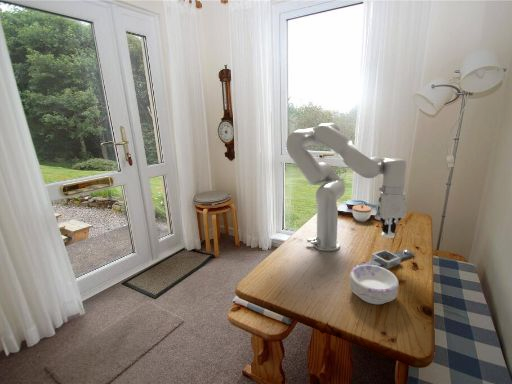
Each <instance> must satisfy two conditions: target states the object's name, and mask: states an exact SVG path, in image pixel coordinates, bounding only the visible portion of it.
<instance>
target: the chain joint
mask: <svg viewBox="0 0 512 384" xmlns="http://www.w3.org/2000/svg"><path fill="white" fill-rule="evenodd" d="M415 254H416V253H415V252H412V251H411V250H410V249H408V248H405V249H401V250H399V251H396V252H391V251H389V250H387V249H383V250H379V251H376V252H374V253H371V255H370V256H371V259H370V260H369V261H366V262H365V261H364V262H363V263H359V264H357V265H355V266H354V268H355V267H356V266H360V265H375V266H379V267H382V268H385V269H387V270H389V269H390V268H393V267H396V266H399V265H401V262H402V261H404V260H407V259H408V258H412V257H414V256H415ZM384 258H386V259H388V260H386V259H384Z"/></svg>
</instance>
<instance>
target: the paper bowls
mask: <svg viewBox="0 0 512 384" xmlns="http://www.w3.org/2000/svg"><path fill="white" fill-rule="evenodd" d="M355 266H356V265H355ZM355 266H354V267H353V268H352V269H351V270H350V275H349V286H350V289H351V291H352V292H353V293H354V295H356V296H357V297H359V299H361V300H362V301H364V302H366V303H368V304H372V305H383V304H385V303H390V302H391V301H394V300H395V299H396V298H397V296H398V291H399V283H400V282H399V278H397V276H396V275H395V274H394V273H393V272H392V271H391V270H389V269H386V268H384V267H379V266H375V265H360V266H356V267H355Z"/></svg>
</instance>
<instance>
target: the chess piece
mask: <svg viewBox="0 0 512 384" xmlns="http://www.w3.org/2000/svg"><path fill="white" fill-rule="evenodd" d="M392 219H393V218H390V219H388V225H389V228H388V234H386V233H384V232H383V231H382V232H381V236H382V237H384V238H387V239H394V238H395V233H392V232H391V227H390V226H391V224H392V222H391V221H392Z"/></svg>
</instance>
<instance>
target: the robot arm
mask: <svg viewBox="0 0 512 384" xmlns="http://www.w3.org/2000/svg"><path fill="white" fill-rule="evenodd" d="M320 144H321V145H322V146H324V147H326V148H327V149H328V150H329V151H331V152H332V153H334V154H336V155H337V156H338V157H339V158H340V159H341V161H342V162H343V163H344V164H345V165H346V166H347V168H349V169H350V170H352V171H353V172H354V173H356V174H358V175H359V176H361V177H363V178H366V179H374V178H376V177H377V176H379V175H383V176H382V185H381V187H379V188H378V189H379V191H380V193H379V196H378V199H377V204H376V213H375V215H374V219H376V220H378V221H380V222H381V223H382V225H381V231H382V232H384V233H386V234H388V228H389V225H388V219H390V218H393V219H392V221H391V222H392V224H391V226H390V227H391V232H392V233H393V234H396V229H397V225H398V224H399V221H401V220H403V219H405V218H406V215H407V196H406V192H404V190H405V179H406V171H407V160H405V159H403V158H399V157H392V158H391V157H389V158H388V157H383V156H372V157H368V156H367V155H365V154H363V153H362V152H361V151H359V150H358V149H357V148H356V146H355V145H354V140H353V139H352V138H351V137H349V136H348V135H346V134H344V133H342V131H340V128H339V126H338V125H337V124H336V123H333V122H326V123H320V124H319V125H317V126H314V127H309V128H304V129H303V128H301V129H296V130H294V131H292V132H291V133H290V134H289V135H288V136H287V139H286V144H285V145H286V151H287V153H288V155H289V157H290V159H291V160H292V161H293V162H294V163H295V165H296V166H297V168H298V169H299V170H300V172H301V173H302V175H303V176H304V178H305V179H306V181H307V182H308V183H309V184H310V185H314V186H316V185H319V184H321V186H319V187H318V189H316V192H315V201H316V216H317V217H316V234H315V235H314V237H313V238H306V241H307V243H310V244H311V245H313V247H314V248H315V249H317V250H319V251H322V252H335V251H337V250H339V249H340V248H341V243H340V242H339V241H338V220H339V218H338V217H339V214H338V213H339V212H338V211H339V210H338V205H337V204H338V203H337V201H338V200H339V199H341V198H342V197H343V196H344V195H345V192H346V187H345V184H344V182H343V181H342V179H341V178H340V176H339V175H338V173H337V172H336V171H335V170H334V168H333V167H332V166H331V165H330V164H328V163H327V162H324V161H323V162H322V161H321V162H320V161H319V162H317V161H316V159H315V158H314V156H313V155H312V154H311V152H309V150H307V149H306V147H310V146H315V145H320Z"/></svg>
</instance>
